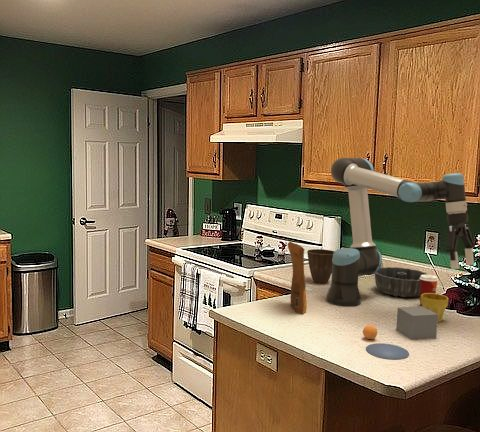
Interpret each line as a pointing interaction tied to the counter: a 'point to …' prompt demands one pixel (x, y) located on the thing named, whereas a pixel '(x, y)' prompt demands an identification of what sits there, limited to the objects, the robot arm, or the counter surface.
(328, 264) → the plant pot
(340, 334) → the counter surface
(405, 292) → the bundt pan
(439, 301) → the plant pot
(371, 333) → the ball
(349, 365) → the counter surface
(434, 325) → the grey matte cube
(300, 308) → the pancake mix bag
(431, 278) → the paper cup
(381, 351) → the circle
